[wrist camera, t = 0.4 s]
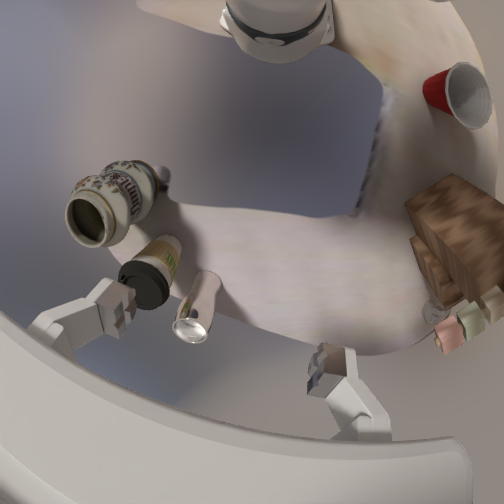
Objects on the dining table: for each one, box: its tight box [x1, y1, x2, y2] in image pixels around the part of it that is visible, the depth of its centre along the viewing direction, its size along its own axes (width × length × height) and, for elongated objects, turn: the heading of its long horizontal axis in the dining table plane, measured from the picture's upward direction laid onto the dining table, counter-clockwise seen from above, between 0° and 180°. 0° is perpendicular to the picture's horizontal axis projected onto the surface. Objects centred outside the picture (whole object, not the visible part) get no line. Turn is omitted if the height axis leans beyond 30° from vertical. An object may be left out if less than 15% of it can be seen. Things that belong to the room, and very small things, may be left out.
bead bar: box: [434, 285, 504, 355], centre depth 23 cm, size 20×3×3 cm, turn 126°
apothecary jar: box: [65, 160, 159, 248], centre depth 41 cm, size 12×12×18 cm
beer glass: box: [172, 271, 221, 343], centre depth 52 cm, size 7×7×15 cm
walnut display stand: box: [405, 174, 504, 310], centre depth 35 cm, size 16×17×26 cm
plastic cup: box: [423, 62, 493, 129], centre depth 29 cm, size 11×11×12 cm
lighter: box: [422, 300, 446, 324], centre depth 53 cm, size 7×2×8 cm, turn 7°
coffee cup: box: [118, 234, 182, 310], centre depth 49 cm, size 10×10×15 cm
